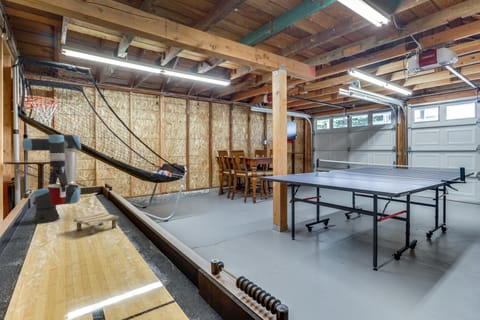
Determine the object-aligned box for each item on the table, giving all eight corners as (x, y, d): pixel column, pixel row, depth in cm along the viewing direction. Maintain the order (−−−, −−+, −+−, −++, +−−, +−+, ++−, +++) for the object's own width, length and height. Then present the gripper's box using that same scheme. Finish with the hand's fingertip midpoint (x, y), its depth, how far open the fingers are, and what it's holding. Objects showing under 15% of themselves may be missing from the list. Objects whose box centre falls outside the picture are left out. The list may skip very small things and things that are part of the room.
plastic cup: (60, 206, 148) (59, 186, 147) (42, 206, 148) (42, 186, 148) (73, 202, 159) (72, 183, 158) (56, 202, 159) (56, 183, 159)
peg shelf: (74, 231, 155) (73, 219, 155) (102, 223, 171) (102, 212, 171) (90, 236, 146) (90, 223, 146) (118, 227, 162) (118, 216, 162)
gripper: (41, 160, 155) (42, 195, 156) (59, 160, 143) (60, 199, 144) (55, 159, 162) (56, 193, 163) (73, 160, 150) (74, 196, 151)
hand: (58, 196), depth 153 cm, fingers closed on plastic cup, 11 cm apart
